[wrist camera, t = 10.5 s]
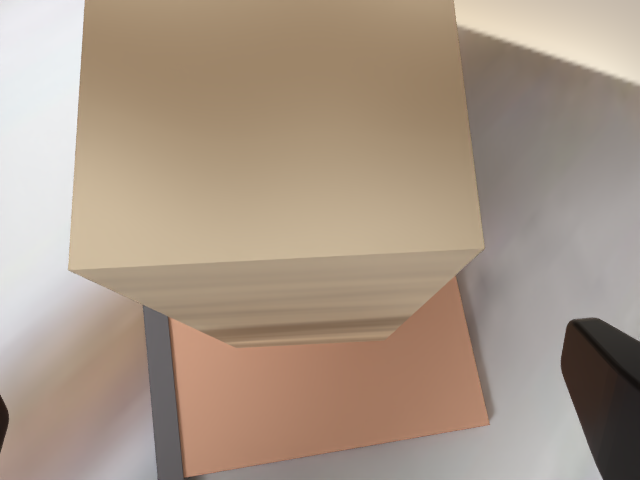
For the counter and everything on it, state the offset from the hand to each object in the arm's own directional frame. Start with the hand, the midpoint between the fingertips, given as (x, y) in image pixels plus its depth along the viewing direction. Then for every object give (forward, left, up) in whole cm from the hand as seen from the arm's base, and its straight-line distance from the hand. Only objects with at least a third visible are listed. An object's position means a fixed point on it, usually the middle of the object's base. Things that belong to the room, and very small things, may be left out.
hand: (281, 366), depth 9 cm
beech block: (+4, -1, -10) cm, 11 cm away
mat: (+4, -1, -11) cm, 11 cm away
